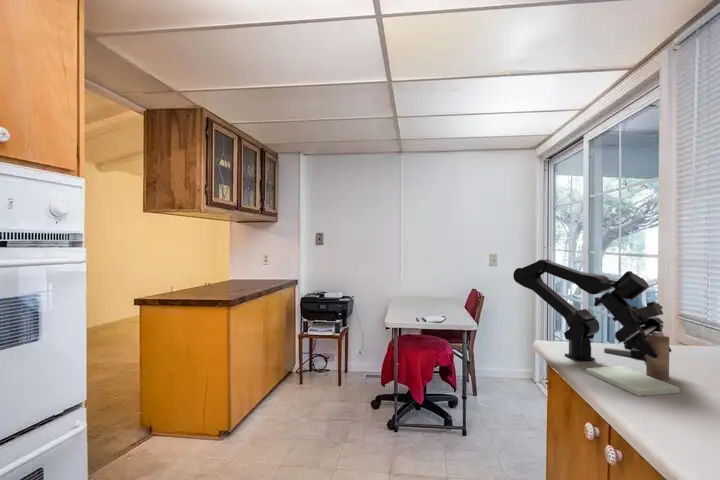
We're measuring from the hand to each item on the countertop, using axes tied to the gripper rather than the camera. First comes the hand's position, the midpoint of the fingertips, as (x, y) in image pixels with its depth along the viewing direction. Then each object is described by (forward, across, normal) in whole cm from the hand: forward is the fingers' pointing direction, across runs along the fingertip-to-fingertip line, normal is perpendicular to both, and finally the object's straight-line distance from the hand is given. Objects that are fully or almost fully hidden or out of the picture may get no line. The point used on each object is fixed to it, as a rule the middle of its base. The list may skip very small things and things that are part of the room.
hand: (663, 354), depth 115 cm
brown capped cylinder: (+4, 0, +6) cm, 7 cm away
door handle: (-6, +19, +16) cm, 25 cm away
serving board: (+2, -11, +8) cm, 13 cm away
